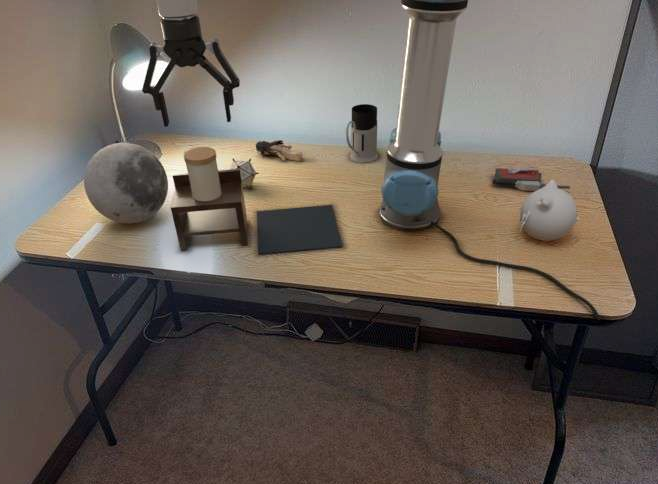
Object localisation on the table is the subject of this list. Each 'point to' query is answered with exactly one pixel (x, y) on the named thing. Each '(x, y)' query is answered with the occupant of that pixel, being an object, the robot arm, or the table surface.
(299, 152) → the toy figure
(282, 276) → the table surface
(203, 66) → the robot arm
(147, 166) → the moon model
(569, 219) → the grey round piece
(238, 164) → the spiked polyhedron
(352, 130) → the glass holder
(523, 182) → the walkie-talkie
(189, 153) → the canister
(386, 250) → the table surface
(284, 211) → the mat
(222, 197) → the shelf
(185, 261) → the table surface
